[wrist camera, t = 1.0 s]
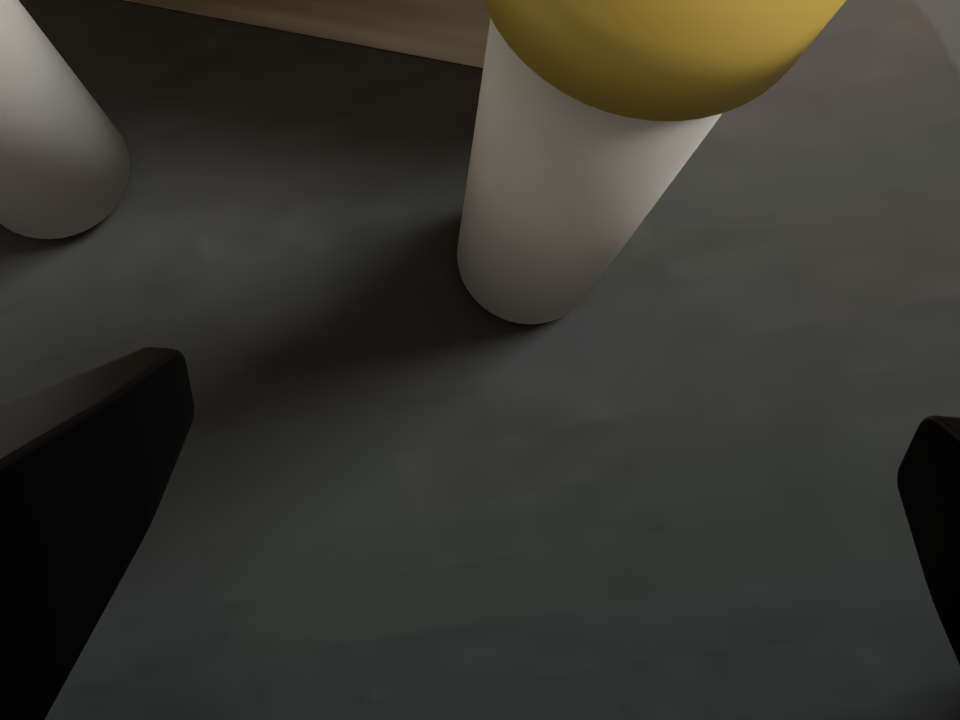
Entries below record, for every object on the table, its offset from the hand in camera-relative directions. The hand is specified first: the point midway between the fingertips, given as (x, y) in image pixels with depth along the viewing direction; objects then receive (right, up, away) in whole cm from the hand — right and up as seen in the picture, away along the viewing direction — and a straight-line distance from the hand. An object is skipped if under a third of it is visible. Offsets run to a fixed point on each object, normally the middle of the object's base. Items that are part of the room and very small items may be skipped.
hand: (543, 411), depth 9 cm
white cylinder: (+1, +4, +14) cm, 15 cm away
